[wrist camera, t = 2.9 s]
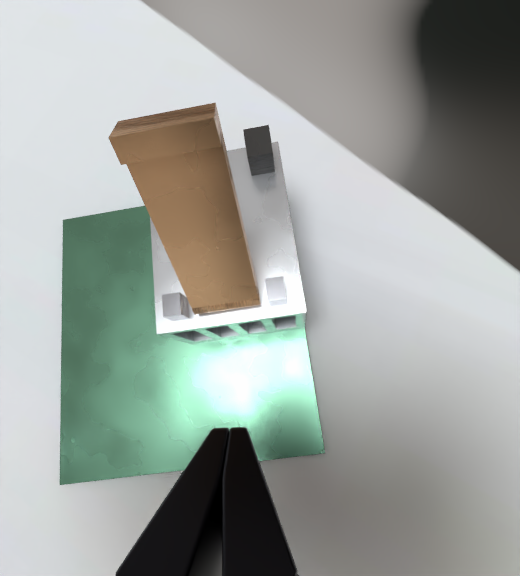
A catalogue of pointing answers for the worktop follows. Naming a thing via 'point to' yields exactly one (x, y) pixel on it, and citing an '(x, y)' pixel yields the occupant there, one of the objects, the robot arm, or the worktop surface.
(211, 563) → the robot arm
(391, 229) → the worktop surface
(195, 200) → the tan flat bar
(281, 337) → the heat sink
